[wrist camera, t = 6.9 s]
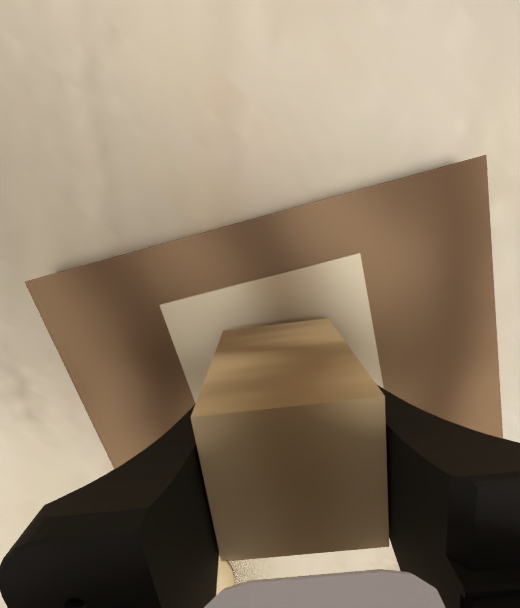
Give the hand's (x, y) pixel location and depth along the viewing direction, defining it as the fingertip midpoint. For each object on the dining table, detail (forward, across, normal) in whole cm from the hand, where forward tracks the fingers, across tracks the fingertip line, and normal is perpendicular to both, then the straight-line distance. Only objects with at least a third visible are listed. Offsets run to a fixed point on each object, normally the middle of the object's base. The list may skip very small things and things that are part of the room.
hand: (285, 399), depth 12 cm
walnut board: (+5, 0, 0) cm, 5 cm away
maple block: (+2, 0, 0) cm, 2 cm away
